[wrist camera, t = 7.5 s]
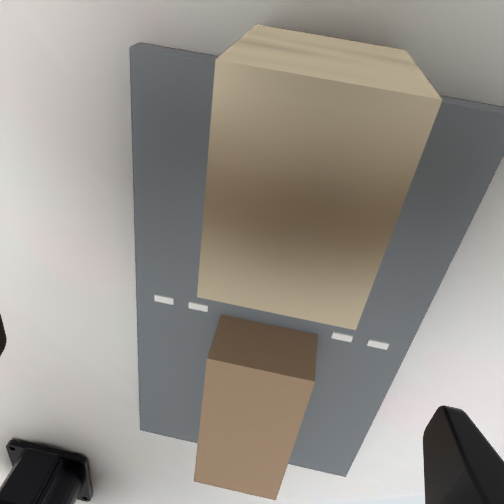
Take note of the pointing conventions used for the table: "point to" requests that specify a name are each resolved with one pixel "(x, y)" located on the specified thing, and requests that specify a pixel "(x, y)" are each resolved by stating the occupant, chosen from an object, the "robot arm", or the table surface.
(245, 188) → the stub
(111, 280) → the table surface
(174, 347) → the board
